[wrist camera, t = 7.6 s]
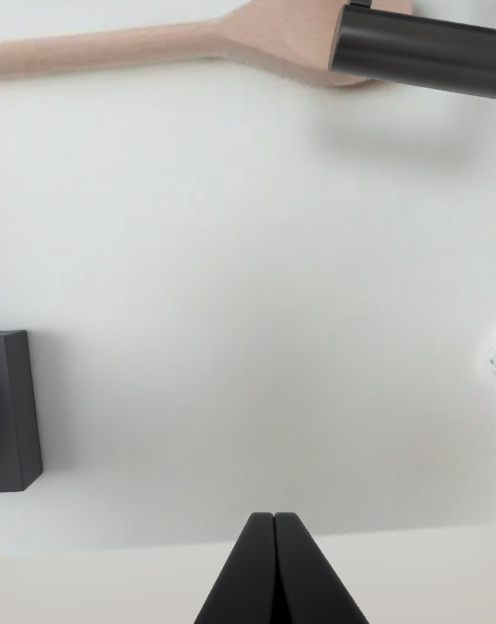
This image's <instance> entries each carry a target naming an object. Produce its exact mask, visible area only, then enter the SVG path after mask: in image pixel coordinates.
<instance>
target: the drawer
mask: <svg viewBox="0 0 496 624" xmlns="http://www.w3.org/2000/svg"><path fill="white" fill-rule="evenodd" d="M371 4H372V0H348V3H347V4H344V5H342V7H341V9H340V12H339V15H338V19H337V22H336V27H335V31H334V35H333V40H332V45H331V50H330V56H329V64H328V69H329V71H330V72H334V73H340V74H346V75H352V76H358V77H364V78H370V79H376V80H382V81H388V82H394V83H401V84H407V85H413V86H419V87H425V88H431V89H437V90H443V91H449V92H455V93H461V94H467V95H473V96H480V97H486V98H492V99H496V29H493V28H487V27H481V26H475V25H469V24H463V23H457V22H451V21H445V20H439V19H432V18H426V17H420V16H414V15H408V14H402V13H396V12H390V11H384V10H378V9H372V8H370V7H371Z"/></svg>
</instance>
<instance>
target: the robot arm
mask: <svg viewBox="0 0 496 624" xmlns="http://www.w3.org/2000/svg"><path fill="white" fill-rule="evenodd" d="M194 624H369V622H368V621H367V619H366V618H365V616H364V615H363V613H362V612H361V610H360V609H359V607H358V606H357V604H356V603H355V601H354V600H353V598H352V597H351V596H350V594H349V592H348V591H347V589H346V588H345V586H344V585H343V583H342V582H341V580H340V579H339V577H338V576H337V574H336V573H335V571H334V570H333V568H332V567H331V565H330V564H329V562H328V561H327V559H326V558H325V556H324V555H323V553H322V552H321V550H320V549H319V547H318V546H317V544H316V543H315V541H314V540H313V538H312V537H311V535H310V534H309V532H308V531H307V529H306V528H305V526H304V525H303V523H302V522H301V520H300V519H299V517H298V516H297V514H295V513H293V512H277V513H275V515H274V516H273V514H272V513H270V512H254V513H252V514H251V515H250V517H249V519H248V521H247V523H246V525H245V527H244V528H243V530H242V532H241V534H240V536H239V538H238V540H237V542H236V544H235V546H234V548H233V549H232V551H231V553H230V555H229V557H228V559H227V561H226V563H225V565H224V567H223V569H222V571H221V572H220V574H219V576H218V578H217V580H216V582H215V584H214V586H213V588H212V590H211V591H210V594H209V595H208V597H207V599H206V601H205V603H204V605H203V607H202V609H201V611H200V612H199V614H198V616H197V619H196V620H195V622H194Z"/></svg>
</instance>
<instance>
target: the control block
mask: <svg viewBox="0 0 496 624" xmlns="http://www.w3.org/2000/svg"><path fill="white" fill-rule="evenodd" d="M41 474H42V464H41V456H40V447H39V439H38V430H37V422H36V413H35V405H34V396H33V388H32V379H31V371H30V362H29V354H28V345H27V337H26V331H25V330H15V331H0V492H18V491H24V490H25V489H26V488H27V487H29V486H30V485H31V484H32V483H33V482H34V481H35V480H36V479H37V478H38V477H39V476H40V475H41Z"/></svg>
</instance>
